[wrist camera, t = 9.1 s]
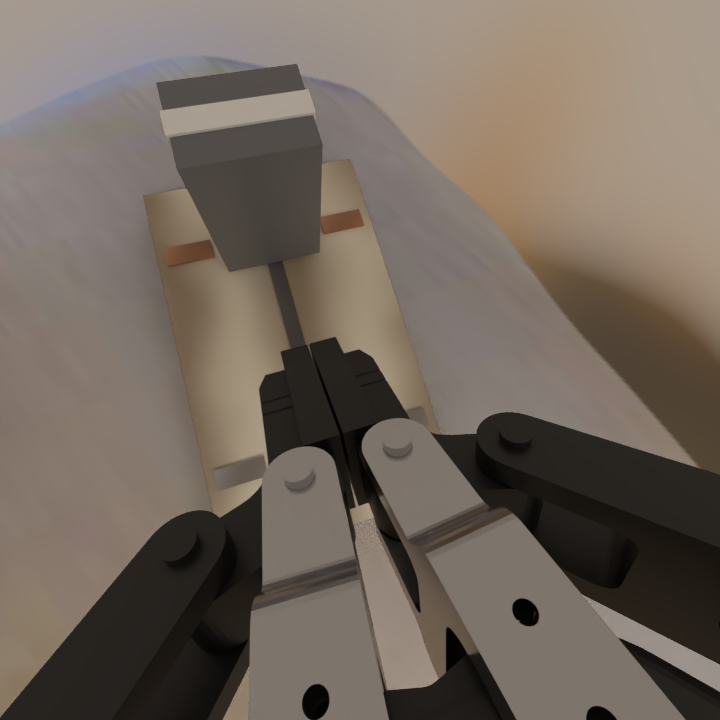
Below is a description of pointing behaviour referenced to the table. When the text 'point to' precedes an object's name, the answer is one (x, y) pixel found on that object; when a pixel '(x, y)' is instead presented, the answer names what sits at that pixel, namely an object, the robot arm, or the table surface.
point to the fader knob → (249, 161)
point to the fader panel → (274, 325)
